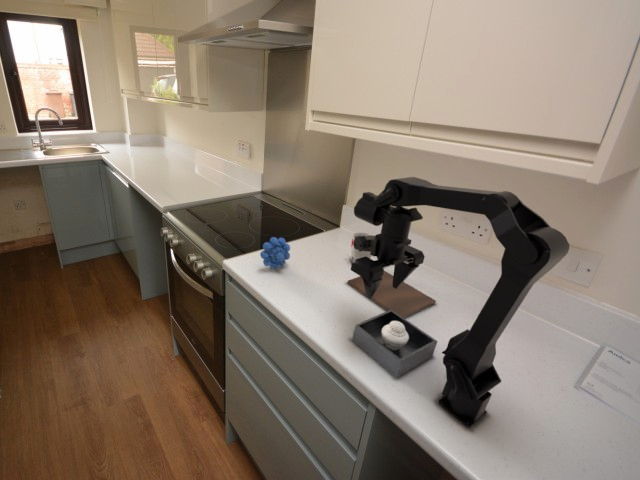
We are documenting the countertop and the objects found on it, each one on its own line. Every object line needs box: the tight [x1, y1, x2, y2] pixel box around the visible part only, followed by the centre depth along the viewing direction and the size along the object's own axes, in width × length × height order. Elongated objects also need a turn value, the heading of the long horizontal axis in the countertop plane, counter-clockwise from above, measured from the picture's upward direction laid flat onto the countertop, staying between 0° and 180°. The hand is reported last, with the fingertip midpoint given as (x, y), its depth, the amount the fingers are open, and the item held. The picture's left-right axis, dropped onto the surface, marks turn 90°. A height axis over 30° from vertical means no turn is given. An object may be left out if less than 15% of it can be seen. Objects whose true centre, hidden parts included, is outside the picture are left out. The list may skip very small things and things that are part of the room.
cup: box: [350, 232, 374, 262], centre depth 119 cm, size 8×8×10 cm
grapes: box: [259, 236, 291, 270], centre depth 111 cm, size 12×7×12 cm, turn 120°
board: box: [347, 270, 437, 319], centre depth 104 cm, size 20×16×1 cm
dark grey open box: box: [351, 310, 438, 379], centre depth 82 cm, size 13×13×5 cm
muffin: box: [382, 321, 409, 350], centre depth 81 cm, size 6×6×7 cm
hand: (382, 292), depth 82 cm, fingers open, 9 cm apart
